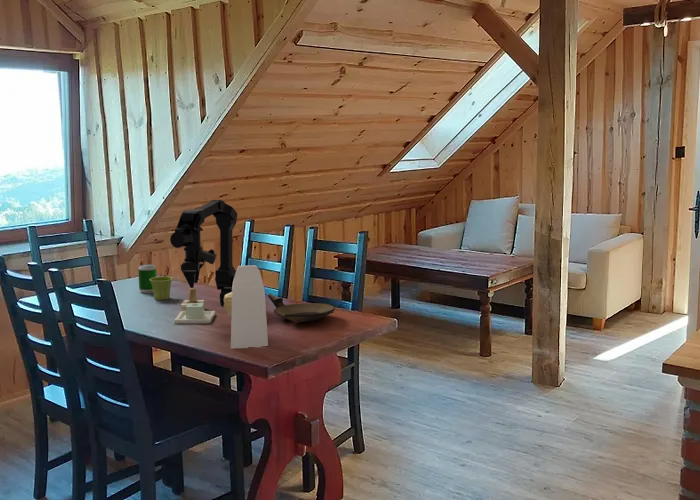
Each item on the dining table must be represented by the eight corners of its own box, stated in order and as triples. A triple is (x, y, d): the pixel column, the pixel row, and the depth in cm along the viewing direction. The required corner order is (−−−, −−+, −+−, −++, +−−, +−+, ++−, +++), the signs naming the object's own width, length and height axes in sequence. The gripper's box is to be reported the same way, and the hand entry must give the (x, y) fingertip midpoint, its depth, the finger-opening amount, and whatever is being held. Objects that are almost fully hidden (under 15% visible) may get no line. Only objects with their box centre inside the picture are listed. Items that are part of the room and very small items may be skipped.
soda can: (154, 293, 304) (153, 266, 303) (137, 293, 305) (135, 266, 303) (159, 290, 312) (157, 263, 310) (142, 289, 312) (141, 263, 310)
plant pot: (167, 301, 289) (166, 281, 288) (146, 300, 291) (145, 280, 290) (177, 296, 298) (176, 277, 297) (156, 295, 300) (156, 276, 299)
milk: (266, 337, 237) (265, 262, 233) (268, 346, 226) (266, 268, 222) (231, 338, 235) (229, 263, 231) (230, 348, 224) (228, 269, 220)
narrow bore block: (204, 315, 264) (204, 303, 263) (202, 319, 258) (201, 306, 257) (188, 316, 263) (188, 303, 262) (185, 320, 257) (185, 306, 257)
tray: (215, 314, 267) (214, 310, 267) (210, 323, 254) (210, 319, 254) (181, 315, 267) (180, 311, 266) (174, 323, 254) (174, 319, 253)
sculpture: (220, 320, 260) (219, 291, 258) (235, 312, 271) (234, 285, 269) (247, 322, 256) (247, 294, 254) (261, 315, 267) (261, 287, 266)
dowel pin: (197, 310, 275) (196, 288, 273) (196, 311, 272) (195, 289, 270) (190, 310, 274) (189, 288, 273) (188, 311, 272) (188, 289, 270)
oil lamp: (292, 332, 243) (292, 311, 242) (258, 314, 269) (257, 295, 268) (347, 323, 255) (347, 303, 254) (309, 307, 280) (309, 288, 279)
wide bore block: (204, 308, 277) (204, 300, 277) (201, 313, 269) (201, 304, 269) (184, 308, 277) (184, 300, 276) (181, 313, 269) (180, 304, 268)
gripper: (211, 247, 247) (212, 290, 250) (218, 240, 266) (219, 280, 268) (179, 248, 247) (181, 290, 249) (188, 240, 265) (190, 280, 267)
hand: (194, 285), depth 258 cm, fingers open, 9 cm apart
